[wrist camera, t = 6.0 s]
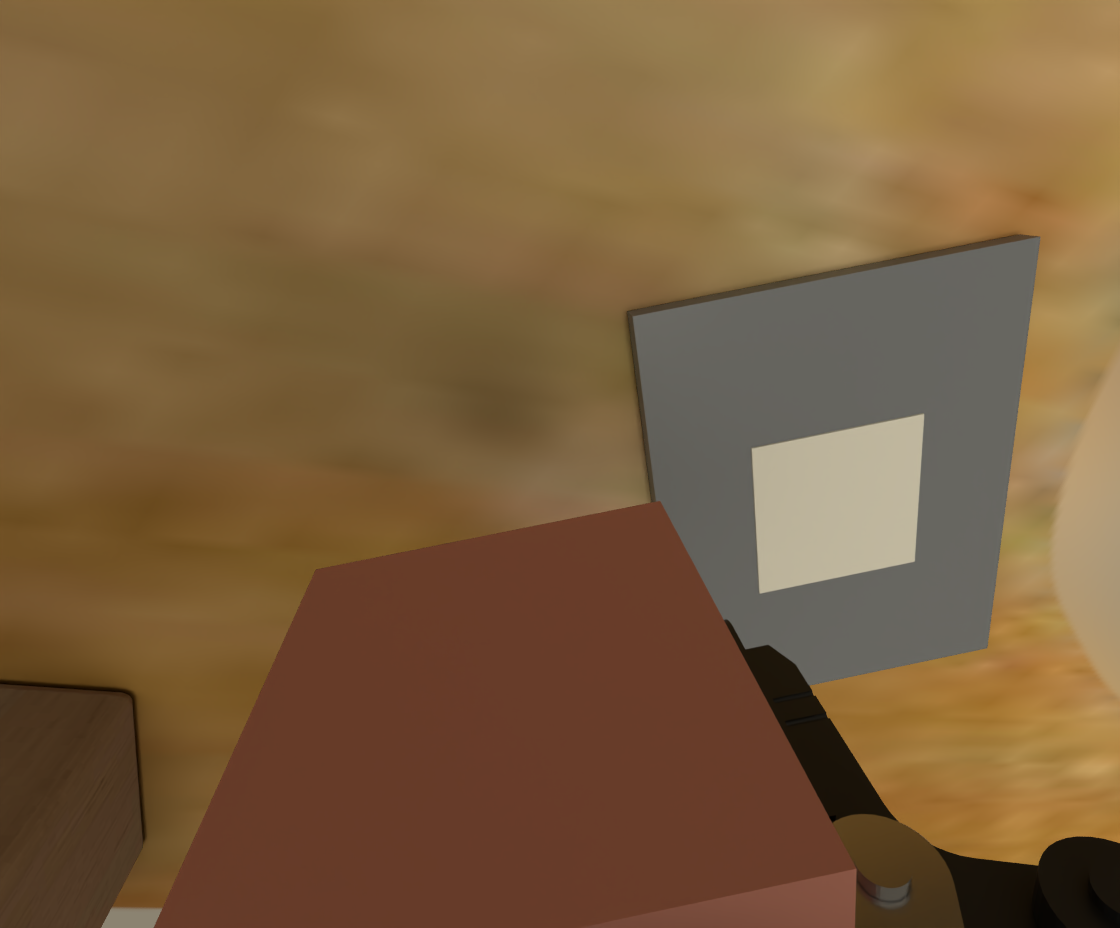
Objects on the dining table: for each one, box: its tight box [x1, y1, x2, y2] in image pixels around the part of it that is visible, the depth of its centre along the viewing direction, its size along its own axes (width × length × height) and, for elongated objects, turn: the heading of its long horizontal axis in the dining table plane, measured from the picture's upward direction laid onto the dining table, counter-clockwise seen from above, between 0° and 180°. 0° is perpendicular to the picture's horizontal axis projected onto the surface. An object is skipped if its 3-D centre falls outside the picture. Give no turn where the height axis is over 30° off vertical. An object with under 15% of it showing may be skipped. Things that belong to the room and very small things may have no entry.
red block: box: [154, 501, 857, 928], centre depth 9 cm, size 6×6×6 cm
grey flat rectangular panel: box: [627, 235, 1040, 685], centre depth 27 cm, size 19×15×1 cm
